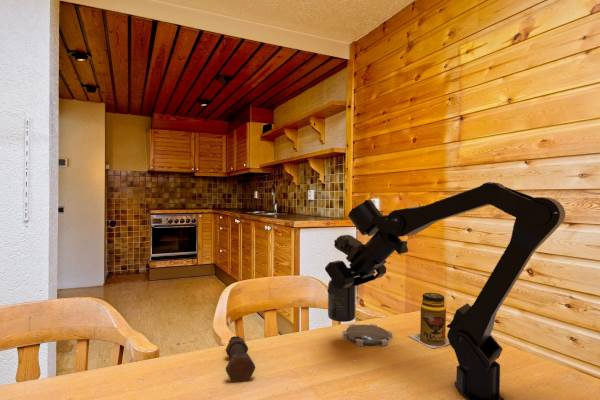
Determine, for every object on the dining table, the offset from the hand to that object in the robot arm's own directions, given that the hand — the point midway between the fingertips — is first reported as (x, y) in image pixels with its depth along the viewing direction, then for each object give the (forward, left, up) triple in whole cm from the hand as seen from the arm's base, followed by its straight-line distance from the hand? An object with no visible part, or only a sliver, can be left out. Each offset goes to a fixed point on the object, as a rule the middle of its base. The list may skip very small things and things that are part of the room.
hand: (337, 289), depth 90 cm
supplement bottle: (-1, +1, -7) cm, 7 cm away
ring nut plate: (-8, -3, -13) cm, 16 cm away
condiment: (-24, -1, -13) cm, 28 cm away
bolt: (+23, +12, -14) cm, 29 cm away
